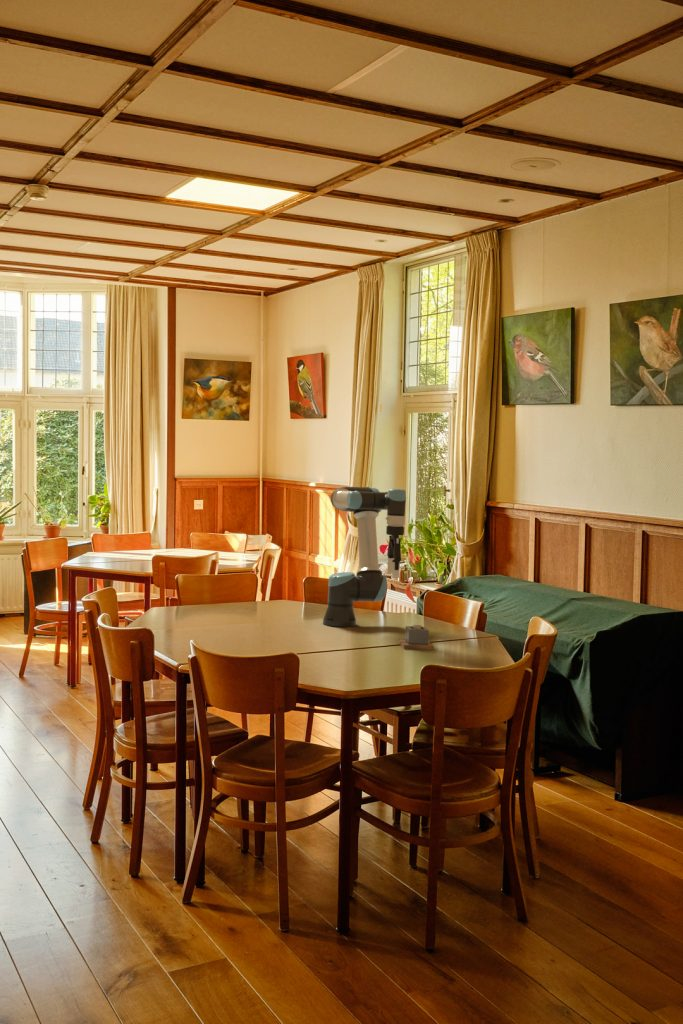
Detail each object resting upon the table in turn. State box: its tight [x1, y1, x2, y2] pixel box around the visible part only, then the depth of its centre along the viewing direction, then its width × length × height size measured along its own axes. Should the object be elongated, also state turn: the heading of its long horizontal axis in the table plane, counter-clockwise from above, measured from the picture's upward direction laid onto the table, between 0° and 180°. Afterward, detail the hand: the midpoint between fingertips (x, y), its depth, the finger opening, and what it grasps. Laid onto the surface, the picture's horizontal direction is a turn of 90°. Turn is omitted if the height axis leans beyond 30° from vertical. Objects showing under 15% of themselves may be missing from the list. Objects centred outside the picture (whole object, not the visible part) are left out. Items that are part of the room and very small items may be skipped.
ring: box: [404, 625, 430, 645], centre depth 409 cm, size 8×8×6 cm
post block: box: [398, 624, 435, 651], centre depth 408 cm, size 12×12×9 cm
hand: (393, 575), depth 423 cm, fingers open, 13 cm apart
